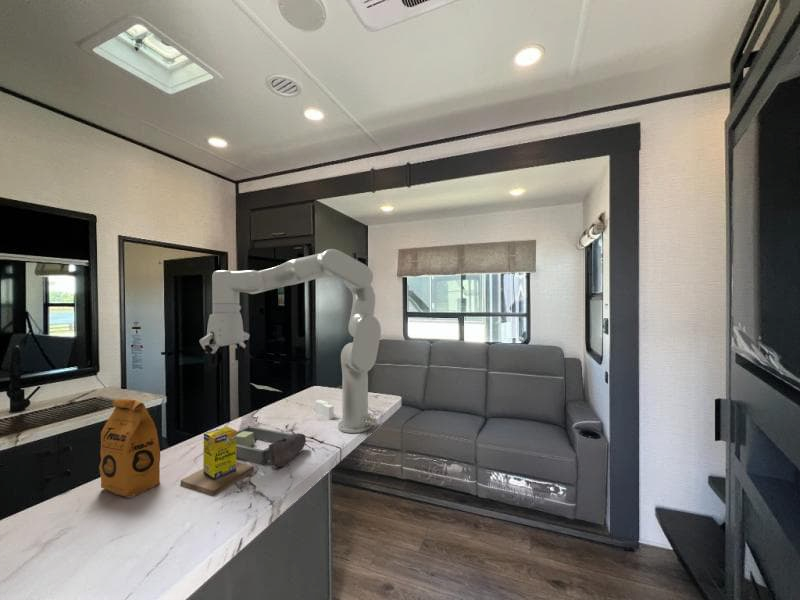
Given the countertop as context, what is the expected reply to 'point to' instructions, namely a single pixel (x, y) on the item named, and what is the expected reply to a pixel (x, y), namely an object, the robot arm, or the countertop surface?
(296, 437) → the perforated stone tool
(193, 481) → the pad
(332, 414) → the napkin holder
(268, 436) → the bin
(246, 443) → the olive block
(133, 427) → the coffee package
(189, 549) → the countertop surface
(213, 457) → the supplement box
